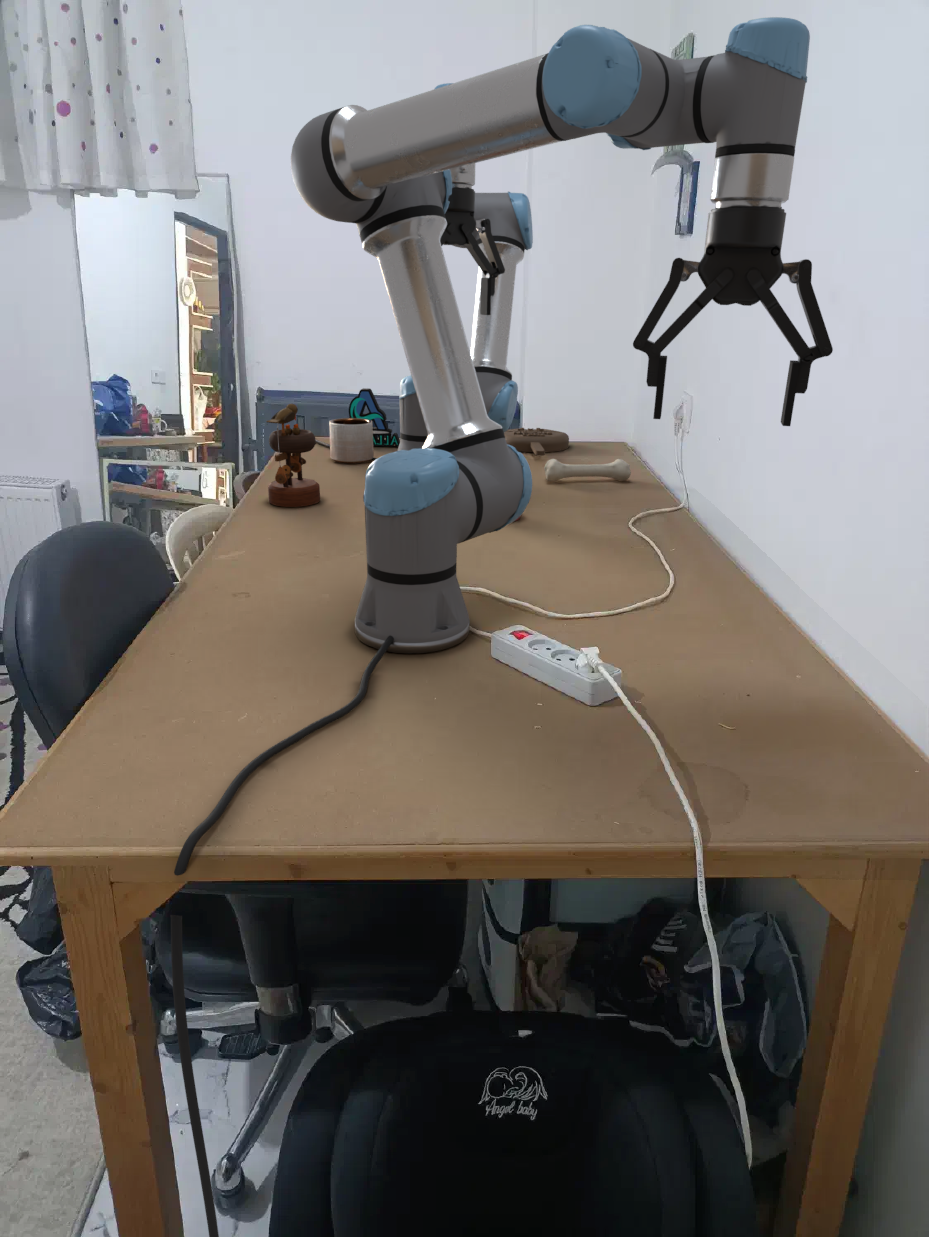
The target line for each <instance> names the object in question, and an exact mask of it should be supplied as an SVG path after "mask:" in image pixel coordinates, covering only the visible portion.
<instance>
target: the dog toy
mask: <svg viewBox="0 0 929 1237" xmlns="http://www.w3.org/2000/svg"><path fill="white" fill-rule="evenodd" d="M543 469H544V475H545V480H546V481H547V482H559V481H560V480H562V479H567V478H579V477H580V478H583V477H584V478H585V477H586V478H589V477H590V478H591V477H596V478H600V477H601V478H611V479H613V480H616V481H618V482H622V481H626V480H629V479H630V477H631V474H632V471H631V468H630V464H629V463H628V462H627V461H625V460H624V459H623V458H616V459H615V460H614V461H612V462H609V463H601V464H599V463H598V464H590V463H589V464H587V463H586V464H584V463H583V464H568V463H562V462H560V461H559V460H558V459H556V458H551V459H548V460H547V461H546V462H545V465H544V467H543Z"/></svg>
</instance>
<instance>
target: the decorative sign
mask: <svg viewBox="0 0 929 1237" xmlns="http://www.w3.org/2000/svg"><path fill="white" fill-rule="evenodd" d="M366 408H367V409H366ZM365 409H366V410H368V412H366V413H364V412H365ZM348 418H362V419H368V420H371V421H372V423H373V424H374V426H373V447H391V448H393V447H394V446H395V447H396V448H398V447H399V444H400V436H399V434H398V433H397V432H394V433H393V430H392V429H391V428H389V425H388V423H387V420H388V418H387V414H386V412H385V411H384V410H382V408H381V407H380V405H379V403H378V401H377V399H376V397H375V394H374V391H373V390H372V389H371V388H368V387H367V388H364V387H363V388H361V389H359V392H358V394H357V395H356V396H355V397H353V398H352V400H351V401H350V403H349V406H348ZM392 433H393V434H392Z"/></svg>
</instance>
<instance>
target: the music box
mask: <svg viewBox="0 0 929 1237" xmlns="http://www.w3.org/2000/svg"><path fill="white" fill-rule="evenodd" d="M298 411H299V408H298V406H297V405H296V404H295V403H288V404H287V405H286V407H285V408H282V409H280V410H279V411H277V412H276V413H274V415H273V416H272V417H271V418H270V419H268V420H266V423H268V424H277V426H276V430H274V431H272V432H271V433H270V434H269V437H268V444H269V447H270V449H272V450H273V451H274V452H276V453H278V454H275V455H274V462H278V463H281V462H282V461H285V464H284V465H282V466H281V465H279V466H278V468H277V471H276V473H275V476H274V479H275V480H273V481H271V482H270V483H269V484H268V485H267V494H268V495H267V496H268V502H269V504H271V505H274V506H277V507H286V508H296V507H297V508H299V507H307V506H311V505H312V506H313V505H315V504H318V503H319V502H320V501H321V490H320V489H321V488H320V484H319V482H317V481H316V480H315V479H312V478H305V477H303V465H306V464H307V459H305V458H303V457H302V454H303V453H309V452H311V451H313V449H314V448H315V446H316V444H317V443H316V440H317V439H316V435H315V434H314V433H313V432H312V431H311V430H309V429H305V428H303V429H302V428H300V427H299V424H298V423H295V424H293V427H292V428H291V424H290V422H293V421H297V413H298ZM279 425H281V429H279ZM294 473H296V475H297V476H296V477H294Z"/></svg>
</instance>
